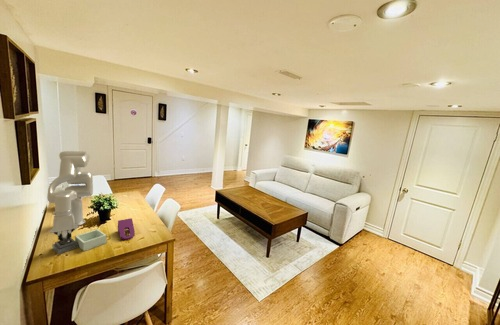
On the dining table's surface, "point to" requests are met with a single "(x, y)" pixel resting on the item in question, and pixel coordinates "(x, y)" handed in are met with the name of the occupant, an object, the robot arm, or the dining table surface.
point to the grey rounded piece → (64, 237)
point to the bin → (91, 239)
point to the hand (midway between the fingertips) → (65, 239)
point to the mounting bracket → (126, 225)
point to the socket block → (64, 246)
